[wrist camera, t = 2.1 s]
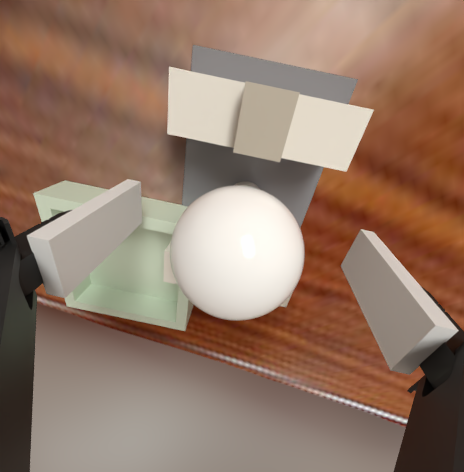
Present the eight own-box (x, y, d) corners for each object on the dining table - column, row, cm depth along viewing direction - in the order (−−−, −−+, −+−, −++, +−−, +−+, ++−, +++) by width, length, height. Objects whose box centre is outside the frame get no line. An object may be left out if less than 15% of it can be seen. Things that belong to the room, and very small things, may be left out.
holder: (180, 260, 23) (157, 305, 18) (196, 47, 14) (159, 16, 9) (276, 280, 23) (281, 331, 18) (353, 80, 14) (405, 68, 9)
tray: (87, 284, 25) (66, 306, 22) (65, 180, 19) (33, 193, 16) (193, 306, 25) (185, 331, 22) (205, 210, 19) (196, 227, 16)
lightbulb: (226, 239, 20) (196, 361, 11) (191, 173, 17) (110, 258, 8) (297, 216, 18) (336, 337, 9) (270, 138, 16) (286, 192, 6)
